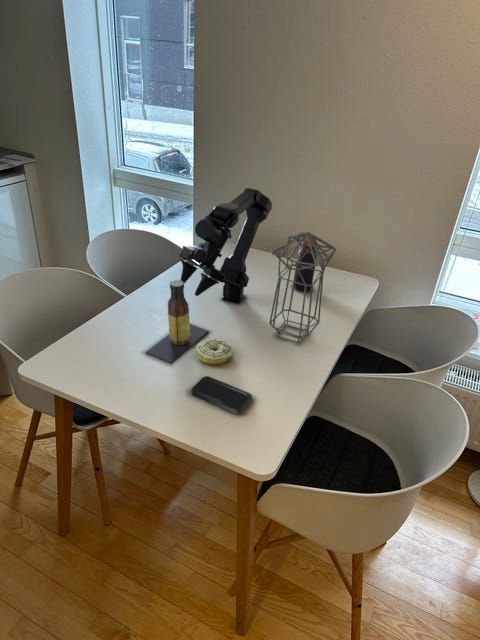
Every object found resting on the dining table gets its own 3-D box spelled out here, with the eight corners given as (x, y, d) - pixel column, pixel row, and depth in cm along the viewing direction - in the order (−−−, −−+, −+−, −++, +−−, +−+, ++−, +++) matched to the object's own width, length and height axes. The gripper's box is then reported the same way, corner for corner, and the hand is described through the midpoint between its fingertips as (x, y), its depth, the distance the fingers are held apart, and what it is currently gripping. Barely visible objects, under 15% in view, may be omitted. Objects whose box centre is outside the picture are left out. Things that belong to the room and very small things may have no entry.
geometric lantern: (323, 331, 156) (341, 230, 137) (305, 355, 144) (323, 248, 125) (279, 317, 162) (291, 218, 143) (259, 339, 150) (269, 234, 131)
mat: (185, 323, 155) (185, 322, 155) (208, 331, 151) (208, 330, 151) (145, 353, 140) (145, 351, 140) (170, 363, 136) (170, 362, 136)
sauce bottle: (191, 336, 148) (192, 279, 138) (187, 347, 143) (188, 289, 132) (170, 333, 148) (169, 276, 138) (166, 345, 143) (164, 286, 133)
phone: (205, 375, 131) (253, 394, 125) (205, 378, 132) (253, 398, 126) (189, 390, 125) (239, 412, 119) (189, 394, 126) (238, 415, 120)
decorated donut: (239, 356, 141) (240, 346, 139) (213, 372, 134) (214, 361, 132) (214, 341, 147) (215, 331, 145) (188, 355, 140) (189, 345, 138)
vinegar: (314, 287, 182) (322, 238, 171) (306, 294, 177) (314, 244, 166) (298, 282, 185) (305, 233, 174) (290, 288, 180) (297, 239, 169)
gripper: (179, 226, 147) (154, 269, 149) (211, 244, 134) (184, 292, 136) (204, 241, 155) (180, 282, 157) (237, 259, 142) (211, 304, 143)
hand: (188, 289), depth 148 cm, fingers open, 9 cm apart
